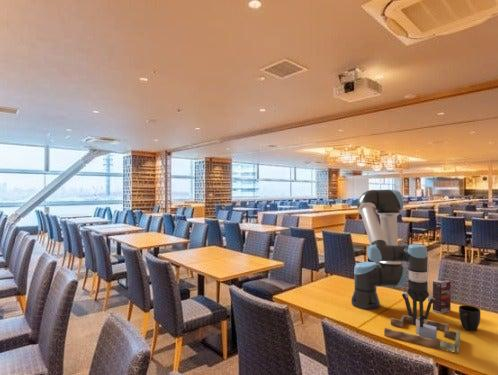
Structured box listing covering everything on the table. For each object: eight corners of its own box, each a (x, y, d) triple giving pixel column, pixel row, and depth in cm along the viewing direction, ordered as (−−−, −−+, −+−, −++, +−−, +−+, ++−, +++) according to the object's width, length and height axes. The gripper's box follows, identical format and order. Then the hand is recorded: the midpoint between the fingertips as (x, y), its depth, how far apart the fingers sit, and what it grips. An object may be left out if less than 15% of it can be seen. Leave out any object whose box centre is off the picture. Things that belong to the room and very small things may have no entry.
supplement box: (441, 314, 166) (440, 283, 166) (432, 310, 170) (431, 281, 170) (451, 311, 170) (451, 281, 170) (442, 308, 174) (442, 278, 174)
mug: (453, 331, 147) (453, 310, 147) (462, 323, 155) (462, 303, 155) (475, 337, 141) (474, 315, 141) (482, 329, 148) (482, 308, 148)
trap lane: (384, 335, 143) (384, 327, 143) (394, 318, 161) (394, 311, 161) (458, 353, 127) (458, 344, 127) (460, 333, 145) (460, 325, 144)
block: (419, 339, 139) (419, 328, 139) (421, 334, 144) (421, 323, 144) (435, 343, 135) (435, 331, 135) (436, 338, 140) (436, 326, 140)
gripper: (400, 279, 142) (400, 332, 142) (433, 284, 135) (434, 340, 135) (403, 275, 148) (403, 326, 148) (435, 280, 141) (436, 333, 141)
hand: (418, 333), depth 142 cm, fingers closed
